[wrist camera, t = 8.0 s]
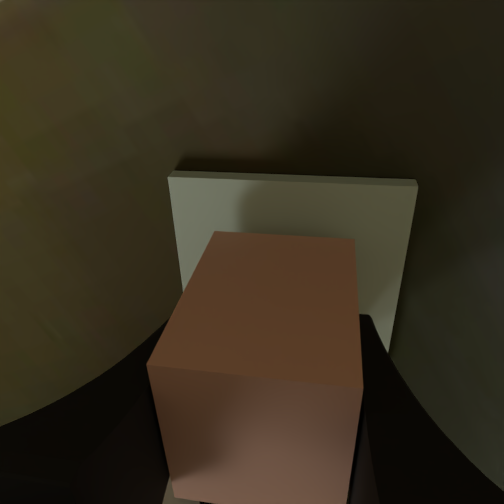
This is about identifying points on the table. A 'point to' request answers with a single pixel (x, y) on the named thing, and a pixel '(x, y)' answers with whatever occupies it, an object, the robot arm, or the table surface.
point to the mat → (304, 222)
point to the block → (262, 372)
